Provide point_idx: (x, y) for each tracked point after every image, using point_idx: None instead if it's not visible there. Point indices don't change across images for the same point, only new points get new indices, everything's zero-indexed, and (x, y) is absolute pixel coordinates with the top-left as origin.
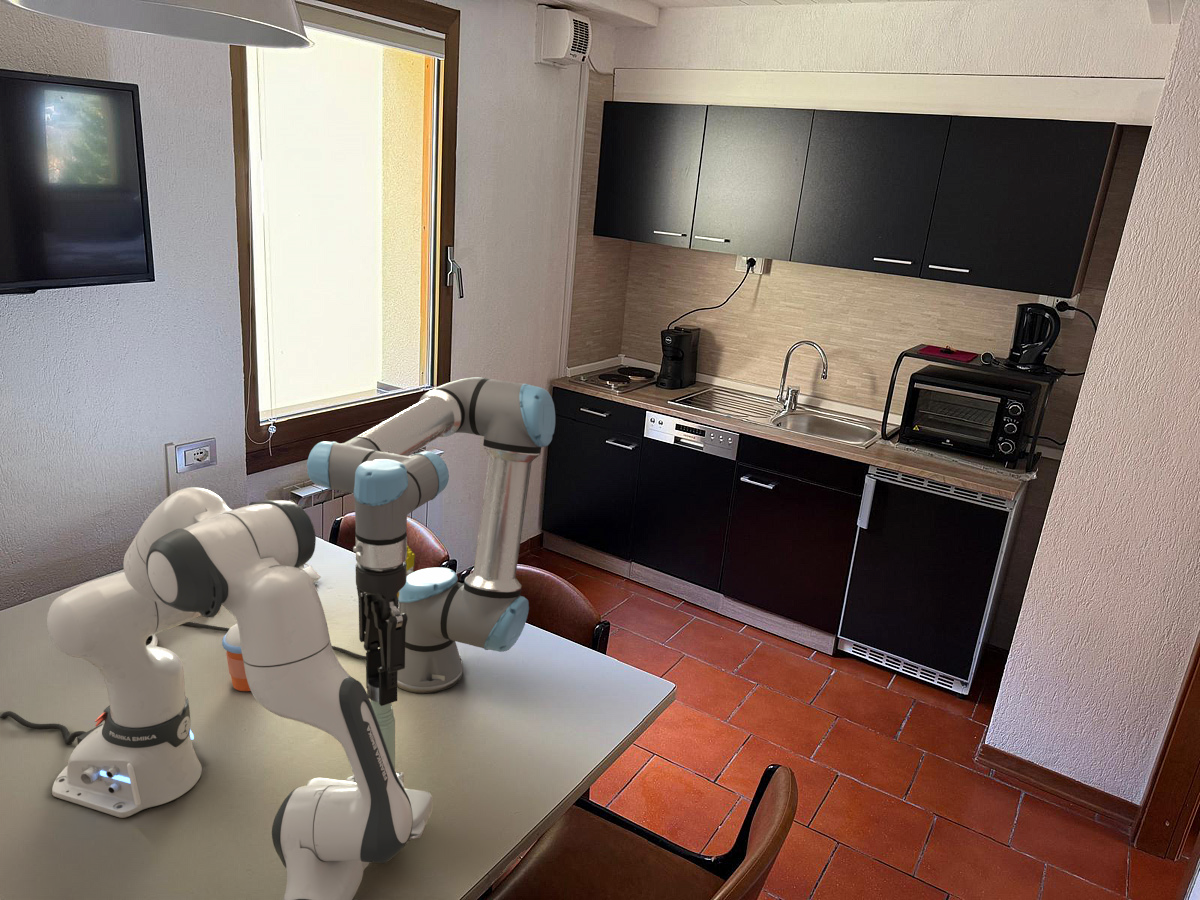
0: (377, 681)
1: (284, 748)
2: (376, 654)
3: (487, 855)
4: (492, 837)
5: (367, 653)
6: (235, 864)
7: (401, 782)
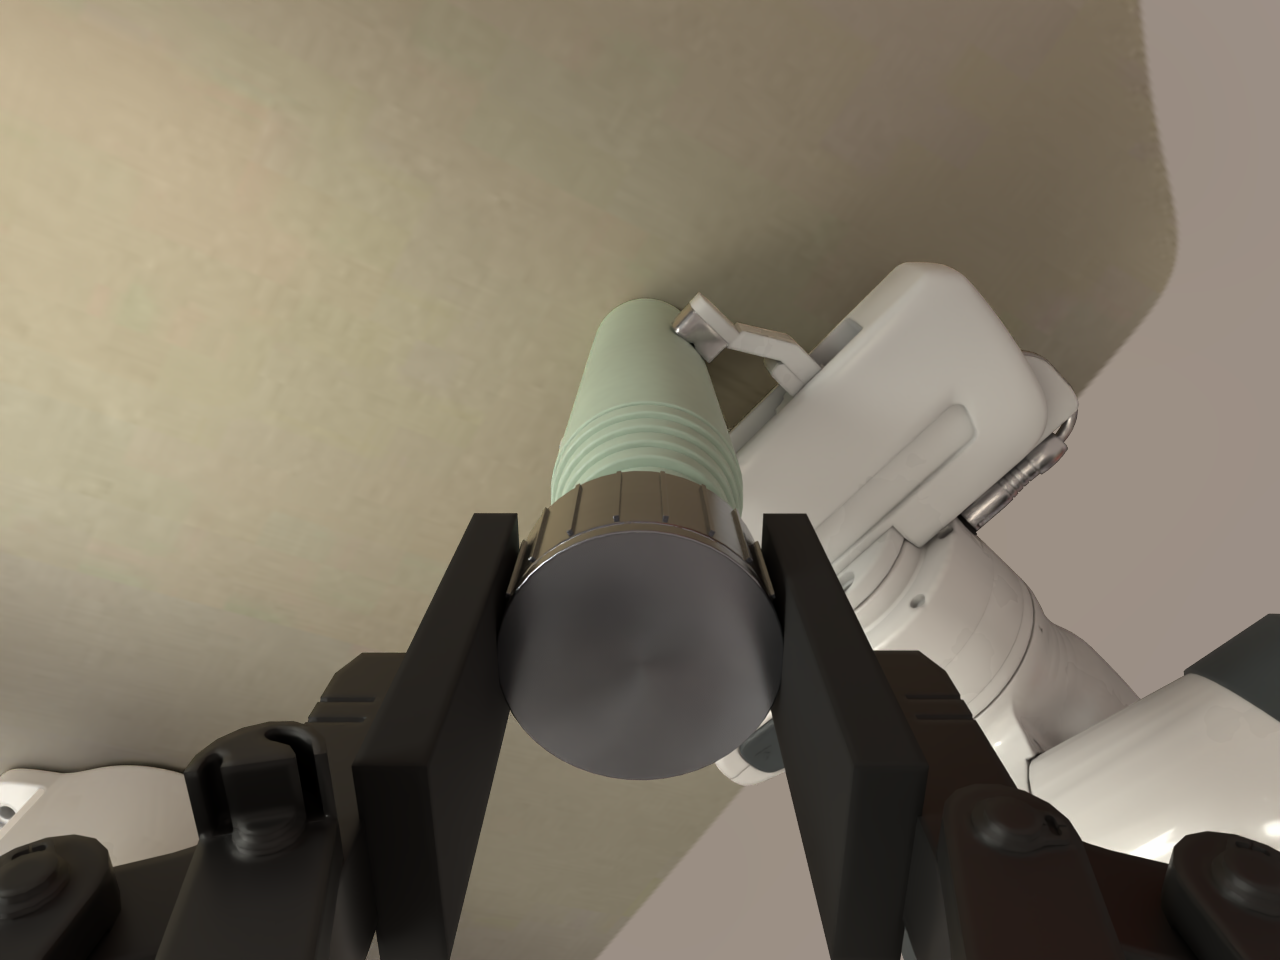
0: (637, 700)
1: (132, 521)
2: (447, 838)
3: (1116, 102)
4: (1053, 26)
5: (411, 957)
6: (633, 784)
7: (768, 344)
